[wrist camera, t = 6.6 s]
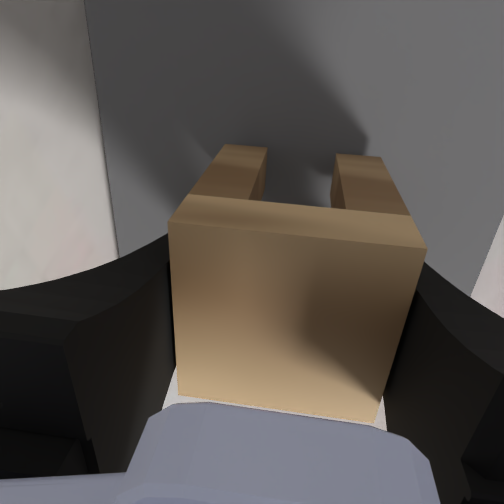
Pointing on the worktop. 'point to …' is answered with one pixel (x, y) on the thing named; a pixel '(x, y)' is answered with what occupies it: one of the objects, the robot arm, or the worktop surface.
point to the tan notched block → (291, 287)
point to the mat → (307, 107)
